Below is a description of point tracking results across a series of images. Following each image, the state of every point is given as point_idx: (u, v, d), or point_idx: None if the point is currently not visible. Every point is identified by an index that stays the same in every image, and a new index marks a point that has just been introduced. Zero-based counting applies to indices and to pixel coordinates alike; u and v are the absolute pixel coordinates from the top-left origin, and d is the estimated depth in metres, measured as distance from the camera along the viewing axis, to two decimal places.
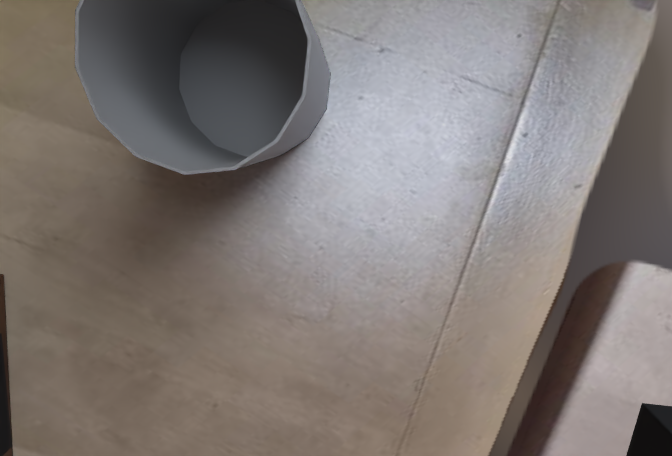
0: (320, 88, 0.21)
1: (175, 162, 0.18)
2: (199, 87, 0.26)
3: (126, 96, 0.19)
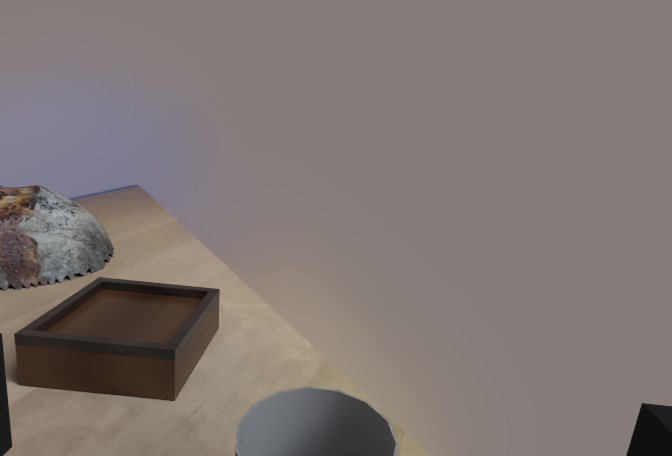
0: None
1: (244, 431, 0.25)
2: None
3: (291, 430, 0.29)
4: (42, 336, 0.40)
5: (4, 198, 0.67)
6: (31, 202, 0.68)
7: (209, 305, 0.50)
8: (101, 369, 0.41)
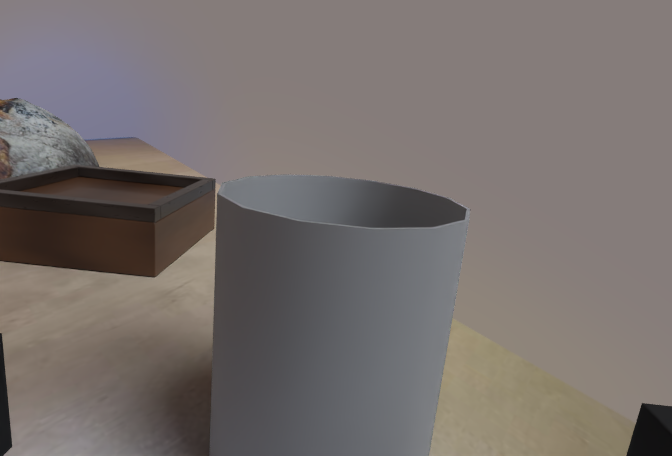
0: (310, 397, 0.13)
1: None
2: None
3: None
4: None
5: None
6: (6, 105, 0.60)
7: (202, 188, 0.42)
8: (64, 236, 0.33)
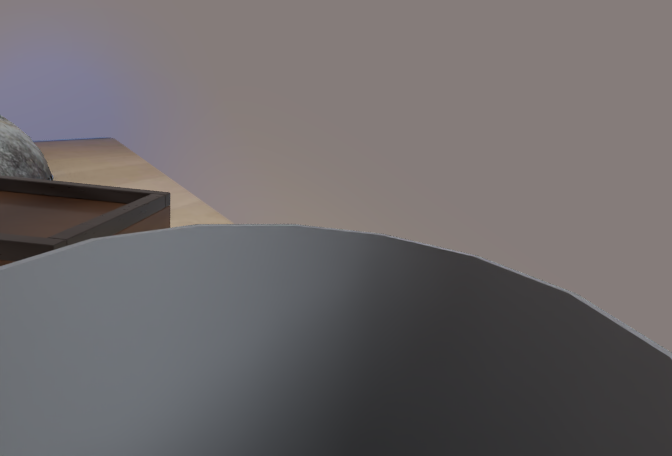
0: None
1: (39, 322, 0.07)
2: None
3: (242, 354, 0.10)
4: None
5: None
6: None
7: (147, 206, 0.31)
8: None
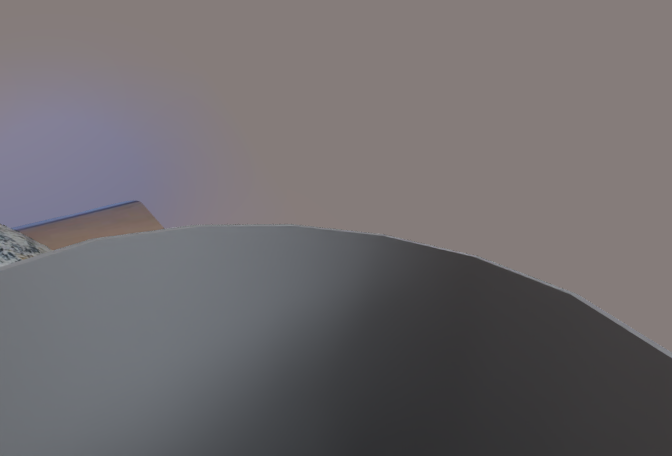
0: None
1: (39, 323, 0.07)
2: None
3: (243, 354, 0.10)
4: None
5: None
6: None
7: None
8: None
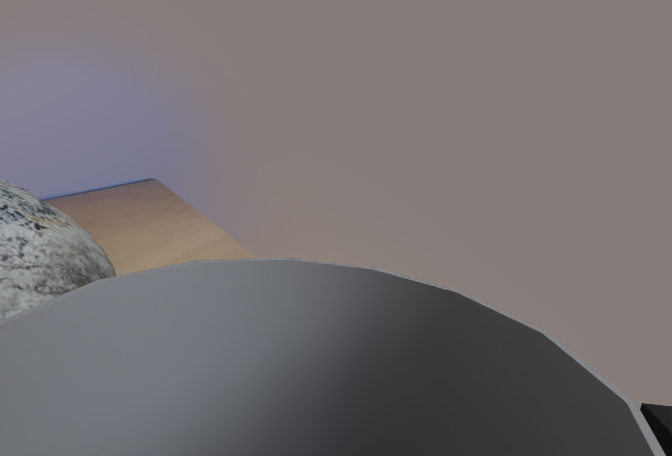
0: None
1: (50, 362, 0.07)
2: None
3: (239, 380, 0.10)
4: None
5: None
6: None
7: None
8: None
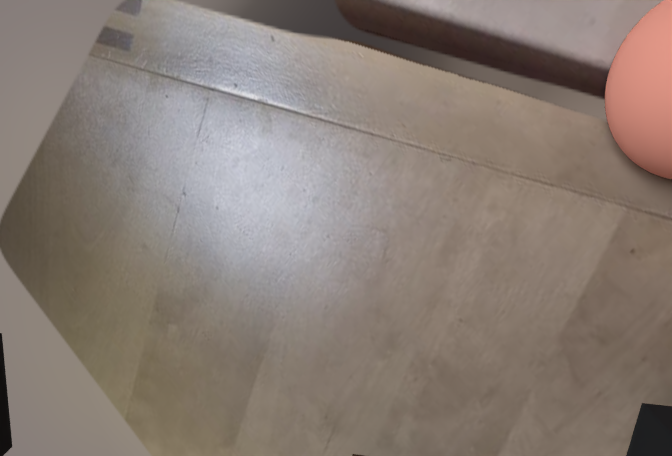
0: None
1: None
2: None
3: None
4: None
5: None
6: None
7: None
8: None
